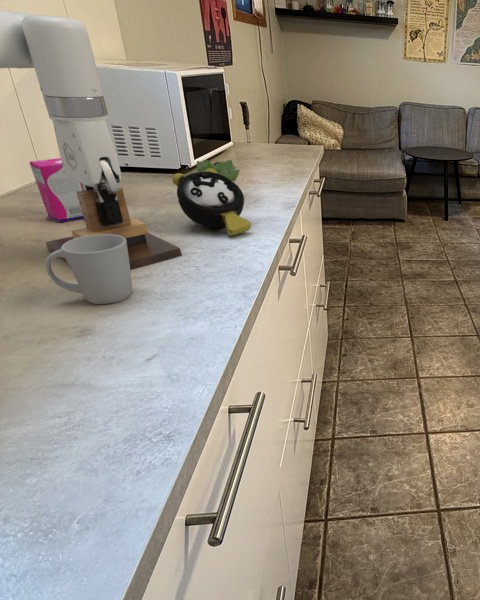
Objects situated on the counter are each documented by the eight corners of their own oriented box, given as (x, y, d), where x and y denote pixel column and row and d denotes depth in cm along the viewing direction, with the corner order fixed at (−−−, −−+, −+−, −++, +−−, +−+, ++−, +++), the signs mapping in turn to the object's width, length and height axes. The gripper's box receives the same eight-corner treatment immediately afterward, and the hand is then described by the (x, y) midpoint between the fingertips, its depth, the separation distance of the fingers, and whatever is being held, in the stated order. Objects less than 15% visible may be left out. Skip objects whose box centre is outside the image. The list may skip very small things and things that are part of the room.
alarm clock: (197, 256, 94) (147, 188, 88) (218, 233, 107) (176, 172, 100) (250, 233, 94) (204, 162, 87) (264, 213, 107) (226, 150, 100)
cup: (138, 303, 69) (123, 249, 65) (53, 314, 65) (32, 257, 61) (141, 282, 75) (128, 231, 71) (63, 291, 71) (45, 238, 67)
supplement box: (79, 210, 102) (63, 157, 97) (91, 217, 99) (75, 162, 94) (47, 216, 98) (28, 160, 93) (58, 223, 95) (39, 165, 90)
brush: (87, 256, 79) (69, 197, 74) (77, 249, 81) (59, 192, 76) (150, 241, 86) (137, 187, 82) (139, 235, 88) (126, 182, 84)
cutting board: (94, 279, 75) (91, 270, 74) (48, 249, 84) (45, 241, 83) (181, 255, 85) (180, 247, 85) (132, 231, 94) (131, 224, 93)
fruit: (237, 202, 125) (240, 204, 112) (191, 198, 120) (189, 199, 107) (238, 163, 123) (241, 160, 110) (192, 156, 118) (190, 152, 105)
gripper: (27, 103, 74) (63, 215, 83) (71, 116, 66) (106, 239, 75) (82, 101, 80) (110, 207, 88) (129, 113, 72) (155, 228, 81)
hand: (108, 221), depth 81 cm, fingers closed on brush, 2 cm apart
